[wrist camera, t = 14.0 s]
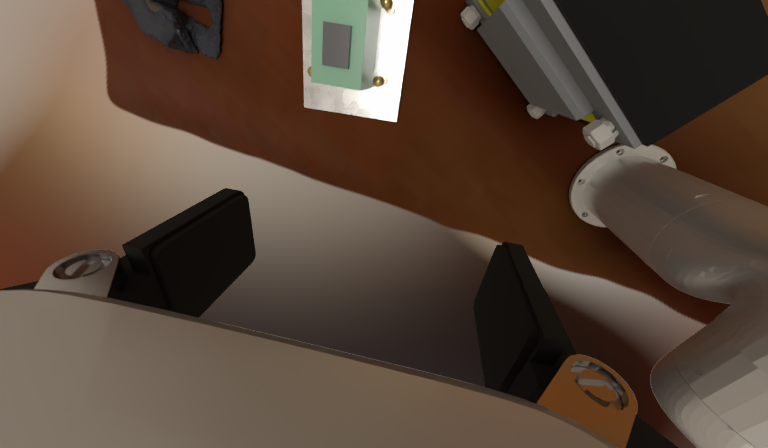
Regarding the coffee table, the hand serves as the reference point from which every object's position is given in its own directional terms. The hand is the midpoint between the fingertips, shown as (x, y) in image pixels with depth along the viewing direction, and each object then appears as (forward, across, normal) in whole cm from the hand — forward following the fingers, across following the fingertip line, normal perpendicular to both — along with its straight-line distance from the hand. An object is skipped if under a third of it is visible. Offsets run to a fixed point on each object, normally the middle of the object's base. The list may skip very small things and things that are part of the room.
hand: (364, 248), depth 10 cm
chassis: (+34, +10, -8) cm, 37 cm away
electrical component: (+35, -12, -11) cm, 38 cm away
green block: (+33, +10, -8) cm, 36 cm away
